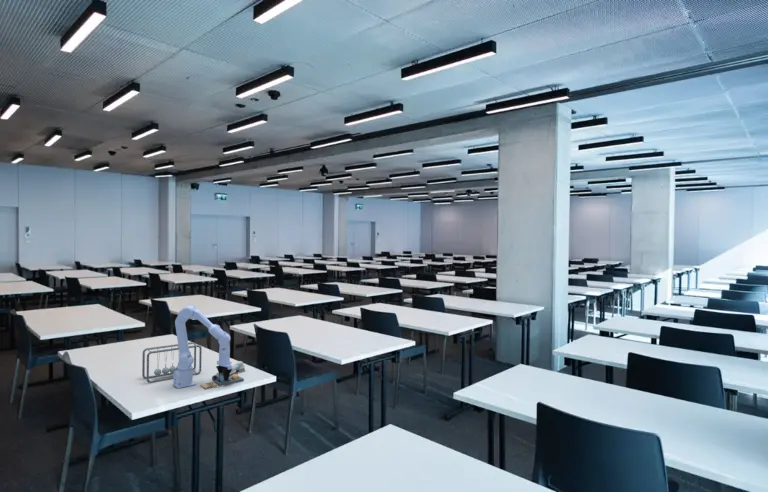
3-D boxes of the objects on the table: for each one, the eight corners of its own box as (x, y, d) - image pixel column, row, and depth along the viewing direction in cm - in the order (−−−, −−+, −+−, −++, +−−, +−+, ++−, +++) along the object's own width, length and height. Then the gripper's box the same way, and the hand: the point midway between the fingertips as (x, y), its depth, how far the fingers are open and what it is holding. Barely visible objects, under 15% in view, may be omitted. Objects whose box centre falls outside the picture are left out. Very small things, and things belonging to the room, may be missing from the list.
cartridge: (221, 385, 249) (221, 374, 249) (218, 383, 252) (218, 372, 252) (229, 383, 252) (230, 372, 252) (226, 381, 256) (226, 370, 256)
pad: (205, 389, 242) (205, 387, 242) (200, 386, 246) (200, 384, 246) (218, 386, 246) (218, 384, 246) (212, 383, 251) (212, 381, 251)
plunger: (233, 381, 255) (233, 375, 255) (231, 380, 257) (231, 374, 257) (238, 380, 257) (238, 374, 257) (236, 379, 259) (236, 373, 259)
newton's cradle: (146, 383, 249) (147, 352, 249) (142, 379, 257) (142, 348, 257) (201, 374, 269) (201, 344, 269) (195, 369, 277) (195, 341, 276)
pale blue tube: (210, 374, 256) (239, 358, 279) (211, 385, 257) (240, 368, 280) (217, 375, 254) (246, 359, 277) (218, 386, 255) (247, 369, 278)
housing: (220, 386, 247) (220, 383, 247) (214, 382, 252) (214, 380, 252) (243, 381, 257) (243, 378, 257) (237, 377, 262) (237, 375, 262)
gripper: (237, 356, 250) (236, 380, 250) (225, 351, 260) (225, 374, 260) (224, 359, 245) (224, 383, 245) (213, 353, 255) (213, 377, 255)
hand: (224, 379), depth 252 cm, fingers closed on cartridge, 5 cm apart
